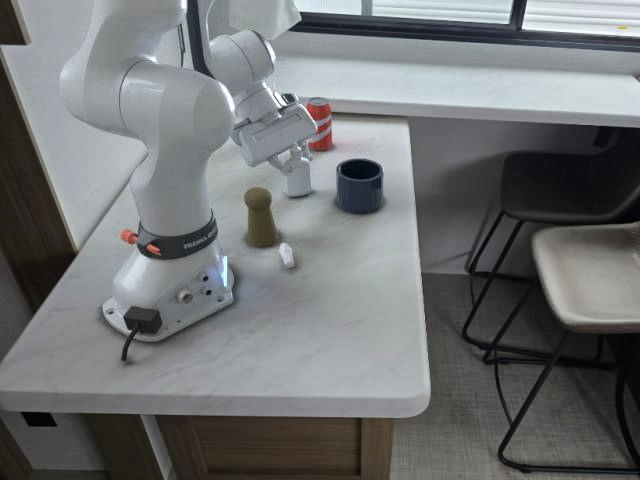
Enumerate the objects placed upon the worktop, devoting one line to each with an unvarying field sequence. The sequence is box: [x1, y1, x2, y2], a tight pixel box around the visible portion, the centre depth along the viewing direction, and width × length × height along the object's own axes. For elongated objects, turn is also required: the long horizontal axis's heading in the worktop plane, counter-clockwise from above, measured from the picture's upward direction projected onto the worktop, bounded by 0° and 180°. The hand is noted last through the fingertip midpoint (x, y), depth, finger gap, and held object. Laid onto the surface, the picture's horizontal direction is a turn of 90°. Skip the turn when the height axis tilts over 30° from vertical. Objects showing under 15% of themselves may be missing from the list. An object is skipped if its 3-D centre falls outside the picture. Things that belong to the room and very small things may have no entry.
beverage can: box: [305, 96, 333, 152], centre depth 140 cm, size 6×6×12 cm
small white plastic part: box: [278, 242, 295, 269], centre depth 106 cm, size 4×6×3 cm, turn 175°
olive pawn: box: [243, 186, 279, 248], centre depth 109 cm, size 6×6×11 cm
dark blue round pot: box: [335, 157, 385, 215], centre depth 122 cm, size 10×10×8 cm
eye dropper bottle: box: [283, 142, 312, 197], centre depth 122 cm, size 4×6×12 cm
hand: (299, 167), depth 121 cm, fingers closed on eye dropper bottle, 5 cm apart
